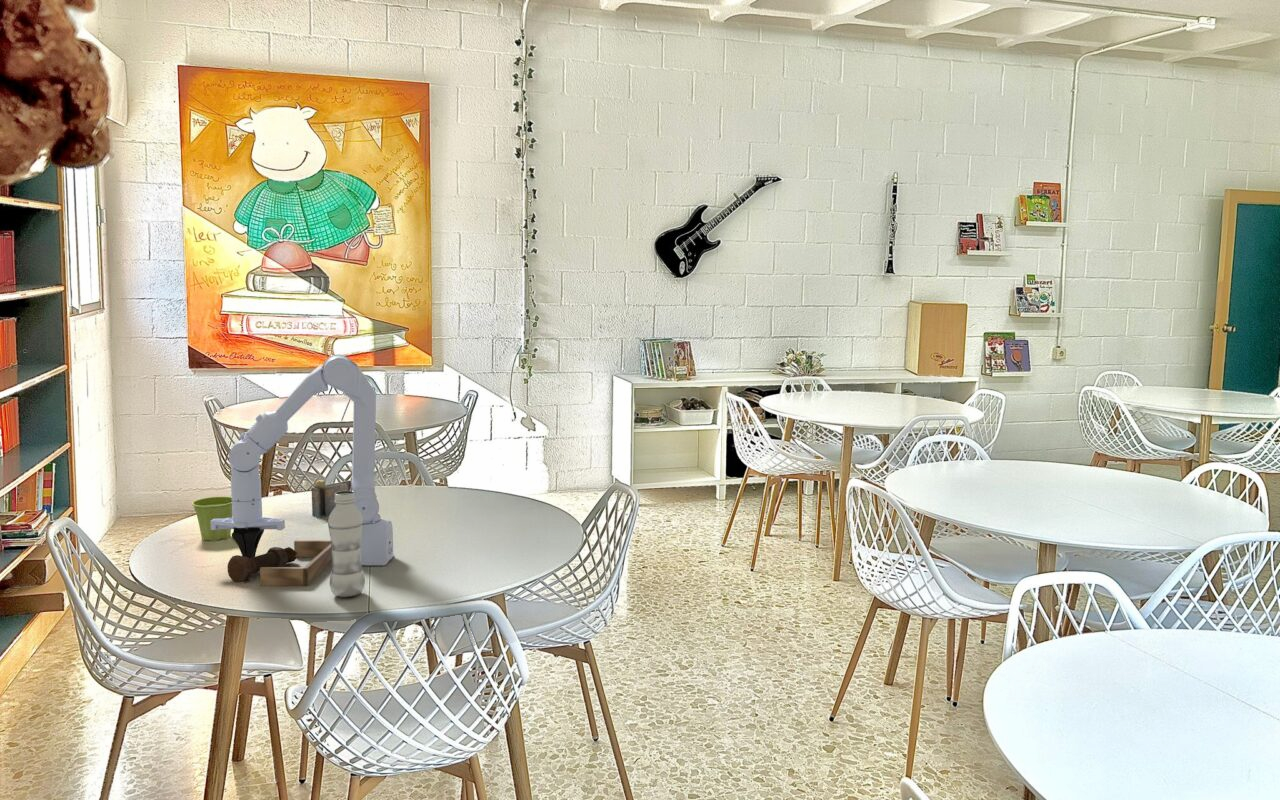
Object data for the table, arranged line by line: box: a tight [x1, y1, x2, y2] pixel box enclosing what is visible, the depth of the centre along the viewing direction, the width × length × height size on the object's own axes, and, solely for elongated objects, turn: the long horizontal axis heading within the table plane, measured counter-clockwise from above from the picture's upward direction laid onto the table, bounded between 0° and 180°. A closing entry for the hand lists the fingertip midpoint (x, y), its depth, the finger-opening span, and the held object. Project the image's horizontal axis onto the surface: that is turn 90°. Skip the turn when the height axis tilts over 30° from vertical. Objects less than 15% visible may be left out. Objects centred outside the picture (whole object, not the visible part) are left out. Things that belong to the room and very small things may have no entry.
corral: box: [259, 539, 332, 587], centre depth 207 cm, size 9×21×4 cm, turn 0°
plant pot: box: [191, 496, 232, 542], centre depth 231 cm, size 9×9×9 cm
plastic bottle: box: [327, 491, 366, 598], centre depth 190 cm, size 6×7×20 cm
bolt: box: [226, 546, 298, 583], centre depth 205 cm, size 6×5×15 cm
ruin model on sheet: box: [310, 479, 352, 518], centre depth 256 cm, size 11×3×10 cm, turn 143°
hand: (249, 563), depth 207 cm, fingers closed
